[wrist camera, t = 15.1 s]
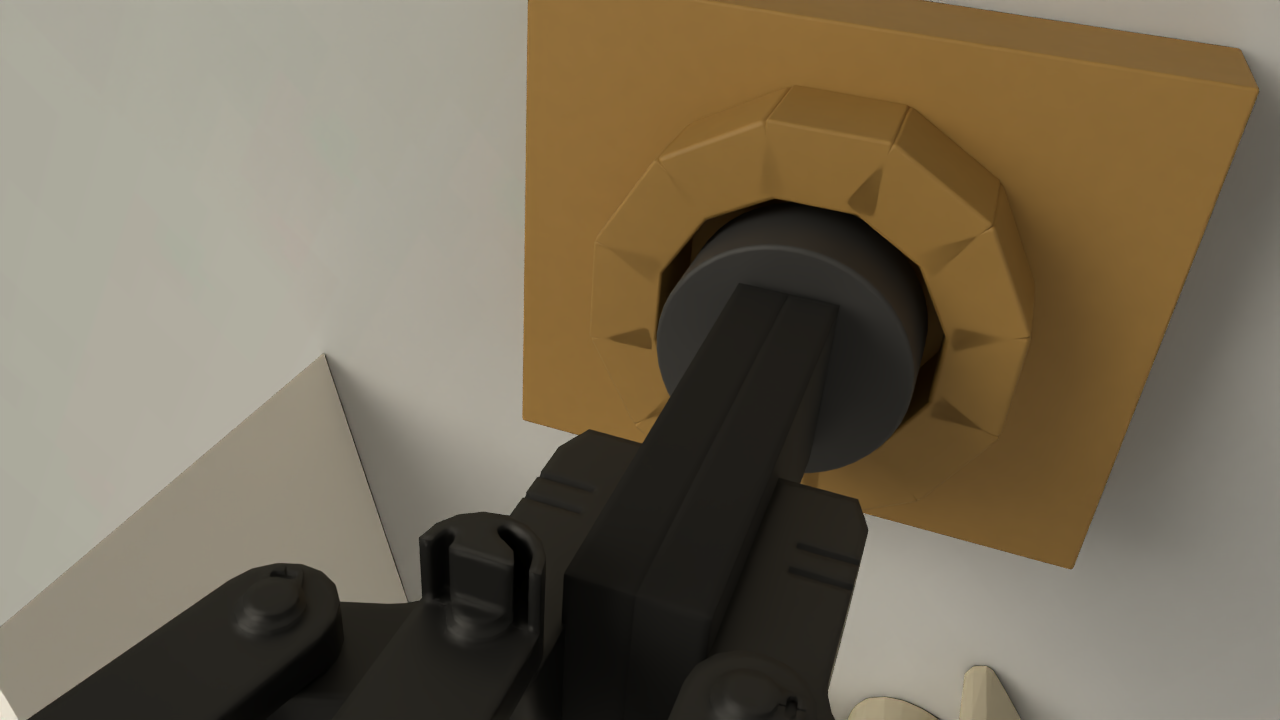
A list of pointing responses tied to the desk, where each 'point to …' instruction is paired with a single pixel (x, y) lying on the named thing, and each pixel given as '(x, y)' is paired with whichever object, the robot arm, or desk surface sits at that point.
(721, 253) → the button
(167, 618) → the white box
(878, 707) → the decorative sign
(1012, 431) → the button box
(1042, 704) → the desk surface
